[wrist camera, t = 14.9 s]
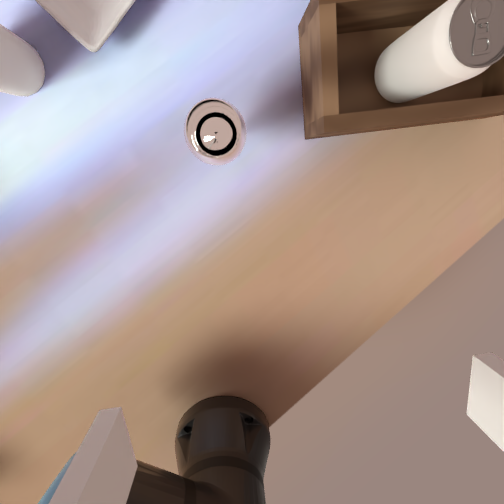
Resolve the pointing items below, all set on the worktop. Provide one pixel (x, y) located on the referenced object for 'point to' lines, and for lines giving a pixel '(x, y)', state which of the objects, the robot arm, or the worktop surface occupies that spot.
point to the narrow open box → (363, 68)
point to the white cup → (19, 65)
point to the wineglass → (215, 131)
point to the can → (442, 50)
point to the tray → (88, 18)
